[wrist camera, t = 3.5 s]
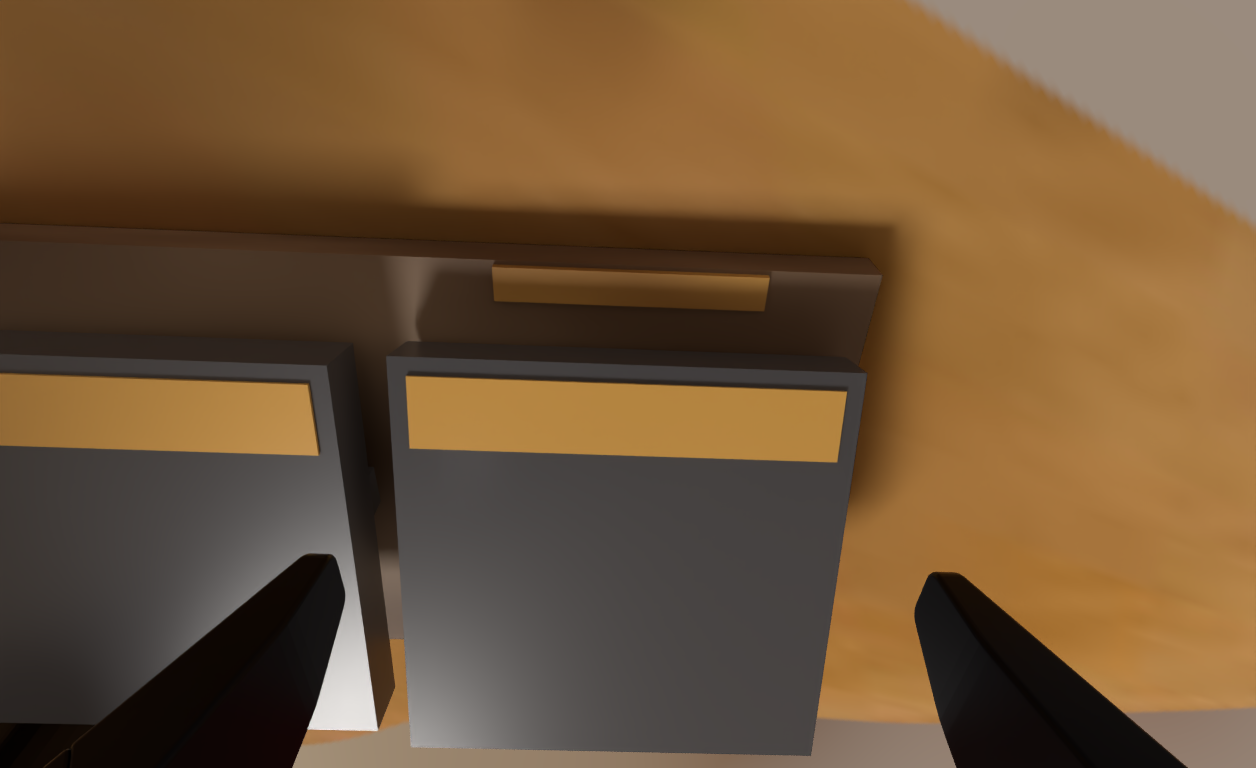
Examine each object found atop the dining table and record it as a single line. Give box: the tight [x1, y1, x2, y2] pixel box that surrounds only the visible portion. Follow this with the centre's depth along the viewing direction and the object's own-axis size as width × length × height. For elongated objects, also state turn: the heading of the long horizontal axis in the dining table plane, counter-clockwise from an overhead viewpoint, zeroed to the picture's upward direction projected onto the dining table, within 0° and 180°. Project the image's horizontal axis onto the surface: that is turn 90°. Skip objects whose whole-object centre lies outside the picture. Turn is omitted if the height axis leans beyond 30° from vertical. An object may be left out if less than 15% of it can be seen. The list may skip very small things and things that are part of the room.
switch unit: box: [0, 223, 883, 639], centre depth 18 cm, size 13×22×2 cm, turn 88°
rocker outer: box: [386, 341, 867, 756], centre depth 16 cm, size 10×10×2 cm
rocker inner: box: [0, 330, 395, 731], centre depth 16 cm, size 10×10×2 cm
